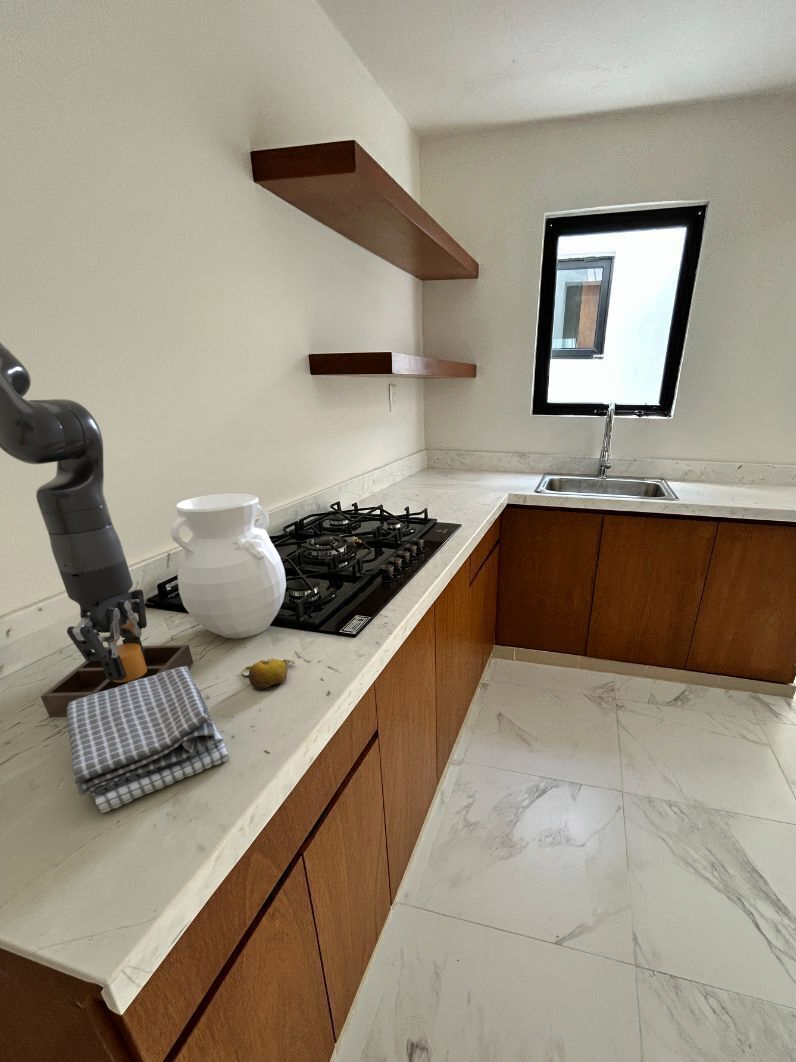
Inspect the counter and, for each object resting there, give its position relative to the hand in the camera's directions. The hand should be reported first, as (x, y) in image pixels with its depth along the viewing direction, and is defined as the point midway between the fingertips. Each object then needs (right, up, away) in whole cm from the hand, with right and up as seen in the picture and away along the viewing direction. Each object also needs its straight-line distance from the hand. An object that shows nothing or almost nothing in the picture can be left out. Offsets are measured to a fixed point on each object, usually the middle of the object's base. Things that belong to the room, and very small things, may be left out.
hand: (127, 669), depth 74 cm
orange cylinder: (0, -1, 0) cm, 1 cm away
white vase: (+7, +5, +24) cm, 26 cm away
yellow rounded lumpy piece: (+19, -2, +8) cm, 20 cm away
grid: (-3, -4, +5) cm, 7 cm away
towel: (+9, -10, -9) cm, 16 cm away
